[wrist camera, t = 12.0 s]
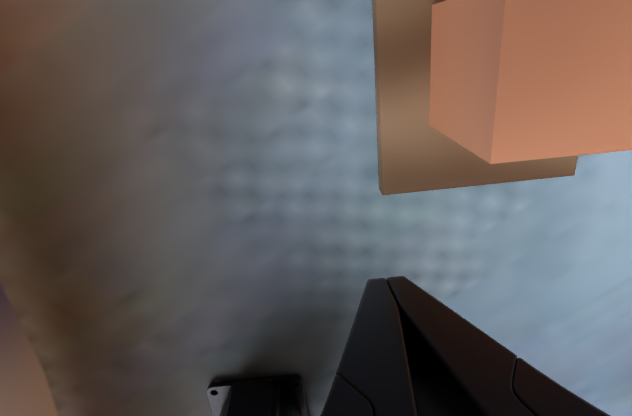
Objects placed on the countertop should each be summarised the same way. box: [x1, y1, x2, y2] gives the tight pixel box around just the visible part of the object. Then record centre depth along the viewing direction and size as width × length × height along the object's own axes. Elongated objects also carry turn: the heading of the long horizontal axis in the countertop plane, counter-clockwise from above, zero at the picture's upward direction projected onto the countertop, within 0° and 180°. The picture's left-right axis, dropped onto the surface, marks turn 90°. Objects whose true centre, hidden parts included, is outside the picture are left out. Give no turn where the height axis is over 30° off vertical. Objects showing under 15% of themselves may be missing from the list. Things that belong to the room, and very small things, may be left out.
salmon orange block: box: [429, 0, 632, 164], centre depth 14 cm, size 5×5×7 cm
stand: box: [372, 0, 578, 195], centre depth 15 cm, size 12×10×7 cm
